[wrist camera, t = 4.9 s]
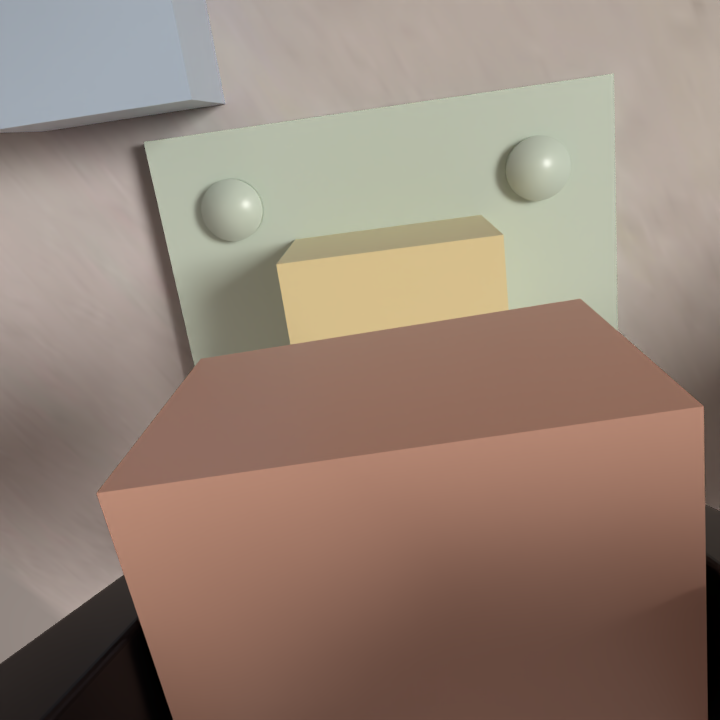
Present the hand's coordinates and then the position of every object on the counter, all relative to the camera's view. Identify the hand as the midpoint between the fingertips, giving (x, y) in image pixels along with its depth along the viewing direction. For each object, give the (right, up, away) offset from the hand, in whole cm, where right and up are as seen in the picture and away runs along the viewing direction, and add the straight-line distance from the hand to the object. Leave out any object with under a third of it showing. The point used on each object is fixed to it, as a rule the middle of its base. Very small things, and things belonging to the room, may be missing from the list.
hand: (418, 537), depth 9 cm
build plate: (0, +4, +11) cm, 11 cm away
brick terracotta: (0, 0, +1) cm, 1 cm away
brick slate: (-7, +11, +9) cm, 16 cm away
